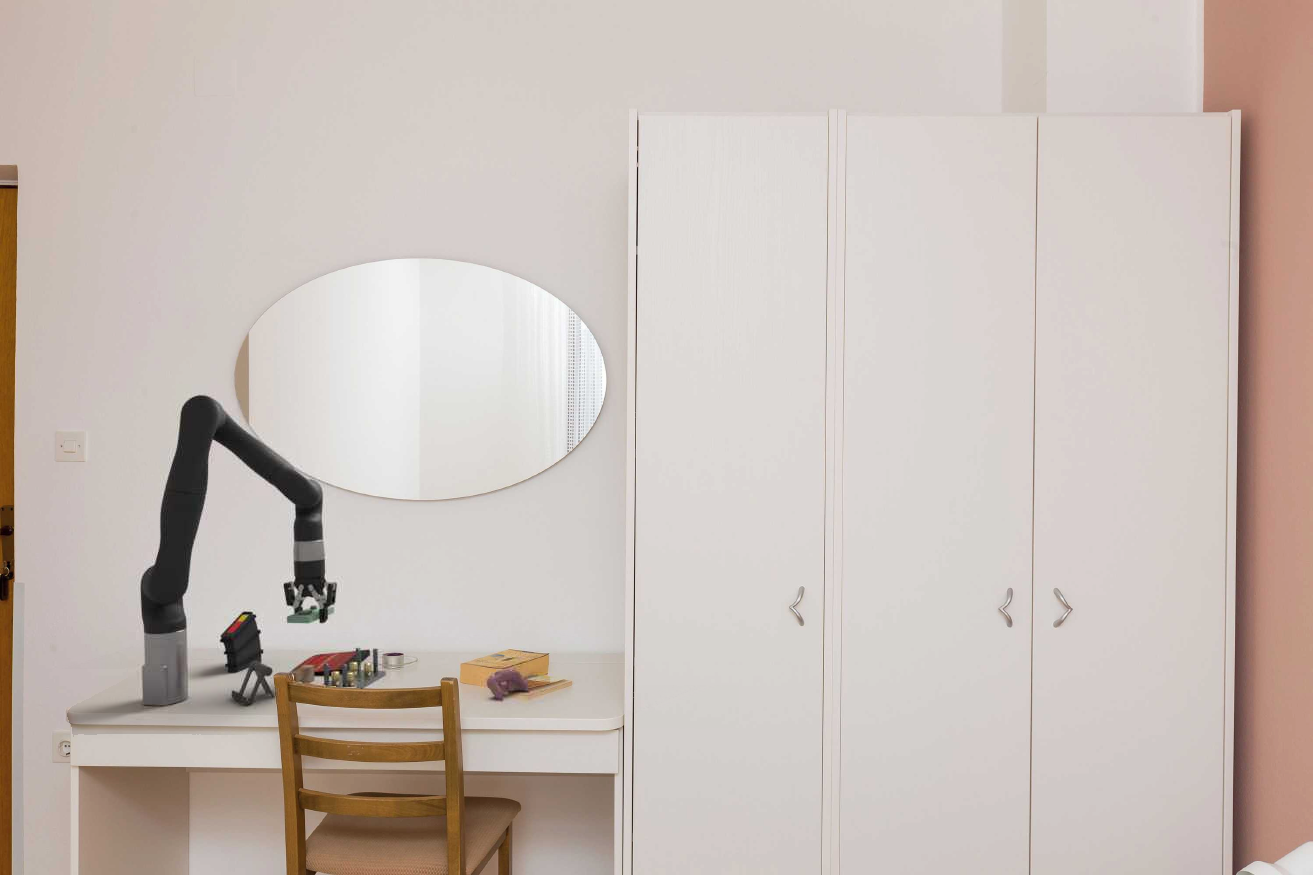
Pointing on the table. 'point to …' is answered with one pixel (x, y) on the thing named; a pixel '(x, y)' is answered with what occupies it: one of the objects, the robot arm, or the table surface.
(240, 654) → the black box
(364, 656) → the binder
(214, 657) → the table surface
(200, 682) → the table surface
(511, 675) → the purple animal figurine
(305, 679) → the rest
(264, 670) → the portable electronic device stand
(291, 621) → the board
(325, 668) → the chassis
